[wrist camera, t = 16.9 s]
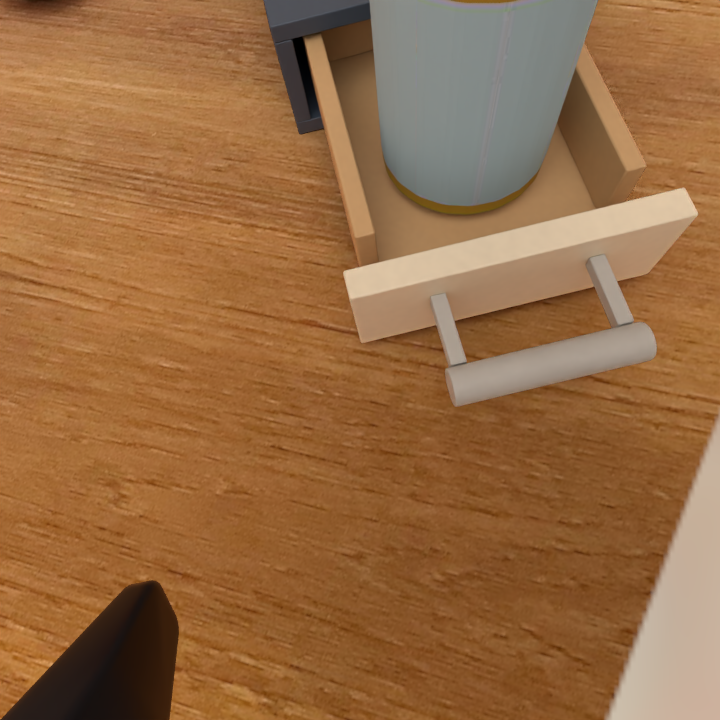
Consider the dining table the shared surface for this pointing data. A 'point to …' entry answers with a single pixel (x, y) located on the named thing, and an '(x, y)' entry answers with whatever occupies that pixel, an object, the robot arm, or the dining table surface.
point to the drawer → (496, 230)
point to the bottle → (472, 94)
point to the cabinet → (287, 25)
